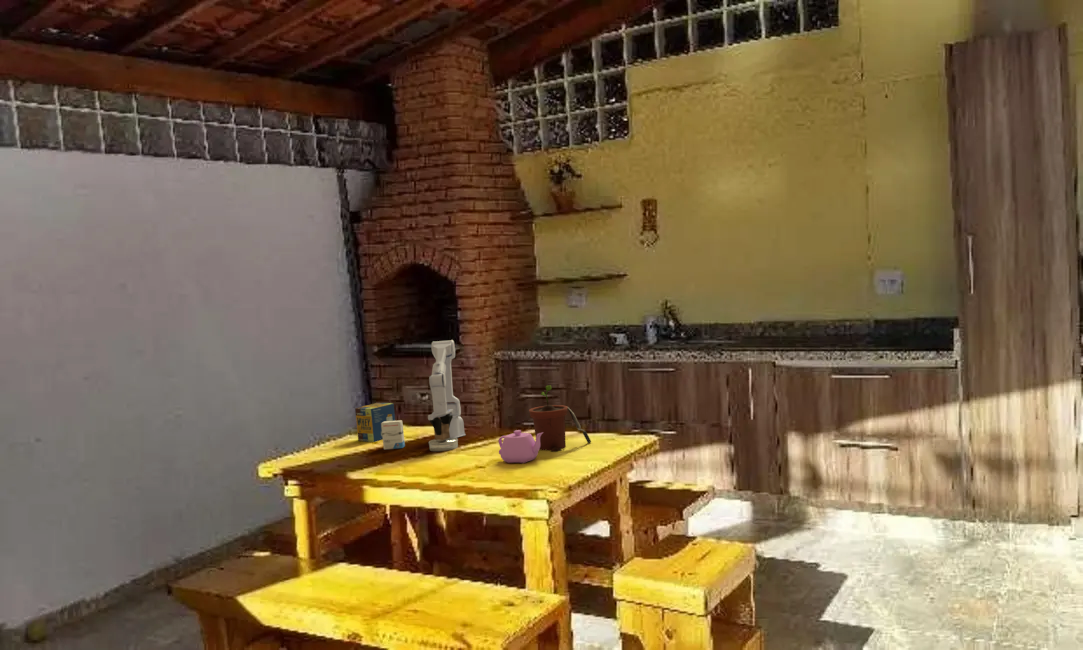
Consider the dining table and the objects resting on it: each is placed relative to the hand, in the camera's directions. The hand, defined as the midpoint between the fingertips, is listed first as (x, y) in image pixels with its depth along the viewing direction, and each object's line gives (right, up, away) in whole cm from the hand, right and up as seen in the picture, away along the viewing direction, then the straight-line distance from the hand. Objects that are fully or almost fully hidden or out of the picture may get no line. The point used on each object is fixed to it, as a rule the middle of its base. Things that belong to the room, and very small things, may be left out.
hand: (442, 433), depth 377 cm
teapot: (+35, -6, -37) cm, 51 cm away
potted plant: (+49, -4, -17) cm, 52 cm away
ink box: (-22, -8, +10) cm, 26 cm away
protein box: (-34, -7, +37) cm, 51 cm away
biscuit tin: (+1, -6, 0) cm, 6 cm away
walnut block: (0, -2, 0) cm, 2 cm away
